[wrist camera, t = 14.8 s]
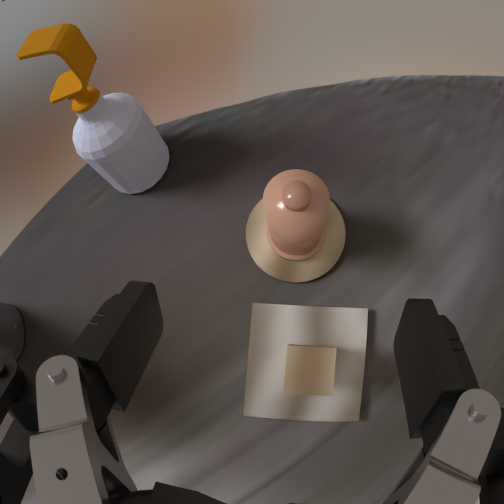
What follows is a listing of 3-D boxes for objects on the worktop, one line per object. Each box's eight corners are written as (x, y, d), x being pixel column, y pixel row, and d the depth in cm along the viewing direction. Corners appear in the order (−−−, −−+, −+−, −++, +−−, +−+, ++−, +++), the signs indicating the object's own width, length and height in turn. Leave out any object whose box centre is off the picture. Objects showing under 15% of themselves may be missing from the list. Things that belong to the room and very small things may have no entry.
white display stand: (244, 413, 32) (230, 433, 24) (253, 303, 35) (242, 293, 27) (356, 419, 30) (373, 440, 22) (365, 309, 33) (385, 300, 25)
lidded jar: (264, 259, 35) (253, 229, 25) (268, 204, 37) (259, 158, 27) (324, 262, 34) (336, 232, 25) (325, 206, 36) (335, 161, 26)
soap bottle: (115, 145, 43) (19, 29, 20) (172, 132, 42) (92, -9, 19) (108, 200, 41) (-18, 91, 17) (169, 189, 40) (58, 47, 16)
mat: (242, 279, 35) (241, 278, 35) (250, 187, 38) (250, 185, 38) (344, 285, 34) (345, 284, 33) (344, 191, 37) (345, 189, 36)
